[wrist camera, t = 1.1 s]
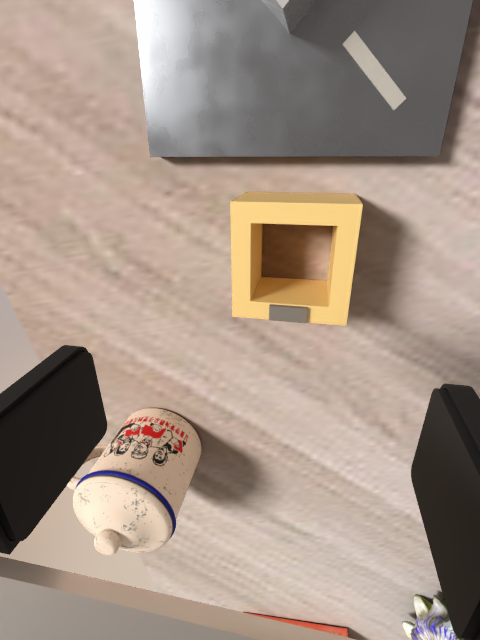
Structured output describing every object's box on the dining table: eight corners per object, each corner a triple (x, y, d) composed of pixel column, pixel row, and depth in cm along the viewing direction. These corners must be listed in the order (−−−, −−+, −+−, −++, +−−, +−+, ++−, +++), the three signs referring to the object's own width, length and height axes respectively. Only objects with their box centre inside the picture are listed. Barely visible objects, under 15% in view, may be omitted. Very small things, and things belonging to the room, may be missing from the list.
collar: (355, 193, 24) (363, 204, 19) (342, 296, 27) (346, 327, 22) (246, 191, 25) (229, 202, 21) (246, 290, 28) (231, 318, 24)
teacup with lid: (203, 411, 35) (154, 522, 24) (205, 477, 39) (164, 596, 28) (91, 394, 37) (3, 489, 27) (104, 458, 41) (32, 563, 31)
